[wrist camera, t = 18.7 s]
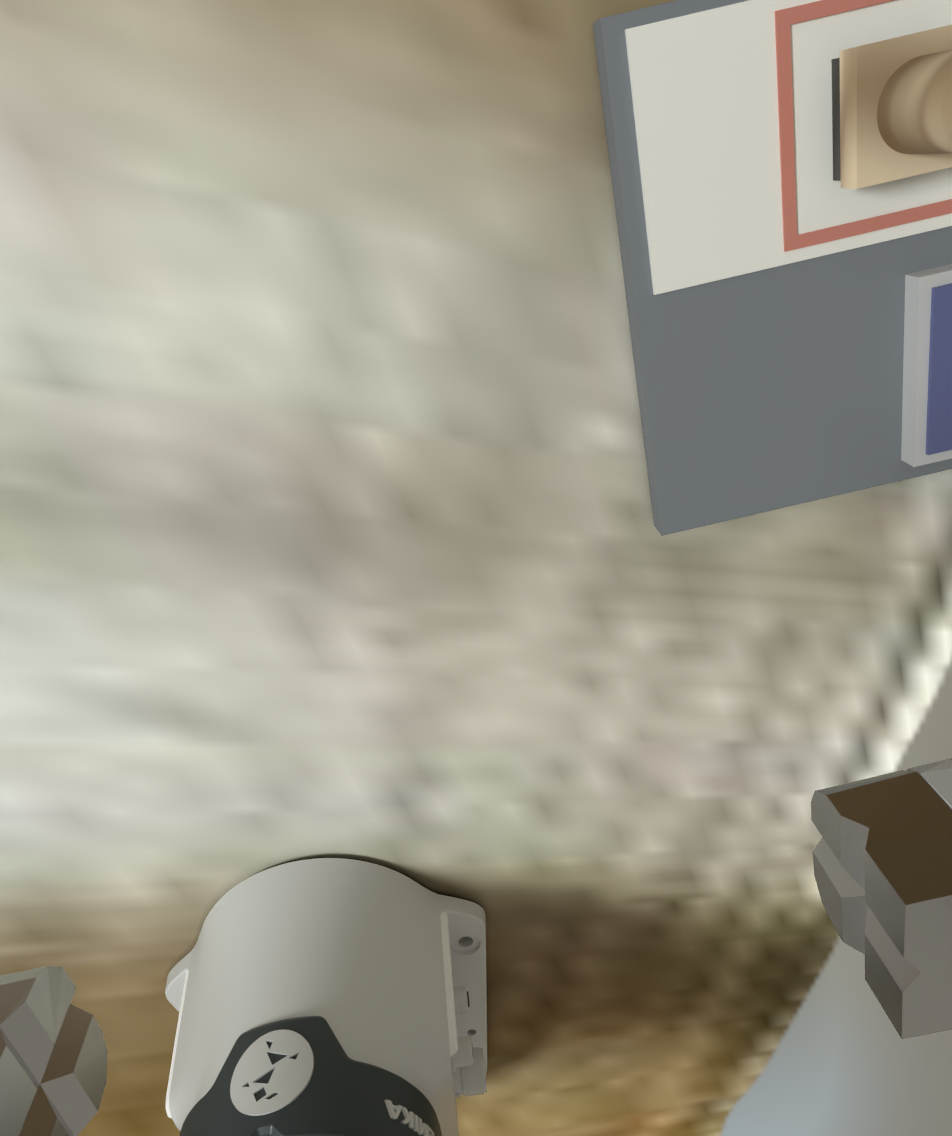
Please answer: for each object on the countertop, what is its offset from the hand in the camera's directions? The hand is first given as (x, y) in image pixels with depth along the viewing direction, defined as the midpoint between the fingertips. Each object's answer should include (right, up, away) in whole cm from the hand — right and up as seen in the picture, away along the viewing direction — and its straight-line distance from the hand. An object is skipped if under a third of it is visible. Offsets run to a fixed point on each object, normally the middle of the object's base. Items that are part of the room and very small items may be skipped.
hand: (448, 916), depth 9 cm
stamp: (+15, +21, +22) cm, 34 cm away
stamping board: (+16, +17, +25) cm, 34 cm away
